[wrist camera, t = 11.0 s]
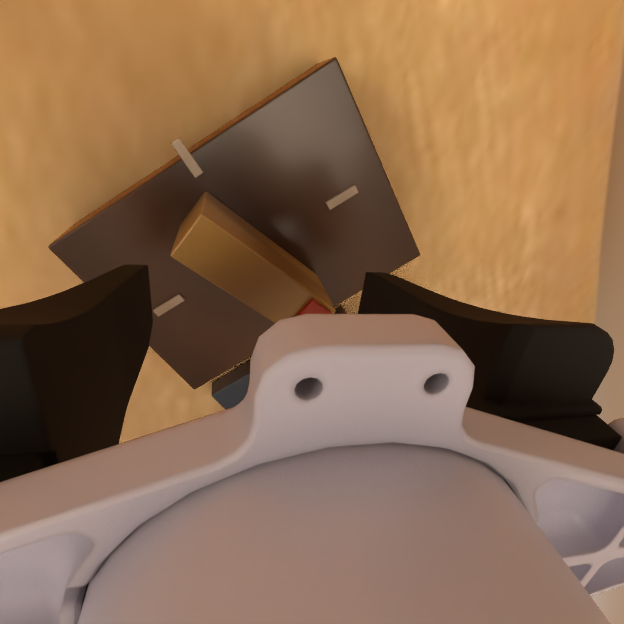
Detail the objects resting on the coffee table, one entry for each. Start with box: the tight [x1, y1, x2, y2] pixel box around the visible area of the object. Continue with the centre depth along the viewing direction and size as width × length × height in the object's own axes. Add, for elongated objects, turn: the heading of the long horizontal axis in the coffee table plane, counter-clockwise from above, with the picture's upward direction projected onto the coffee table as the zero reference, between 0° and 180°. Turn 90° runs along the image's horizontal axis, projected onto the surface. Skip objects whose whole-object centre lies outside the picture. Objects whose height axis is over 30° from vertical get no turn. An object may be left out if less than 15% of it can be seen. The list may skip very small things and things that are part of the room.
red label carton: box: [170, 192, 336, 323], centre depth 15 cm, size 6×2×4 cm, turn 49°
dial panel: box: [49, 57, 420, 389], centre depth 18 cm, size 13×10×3 cm
